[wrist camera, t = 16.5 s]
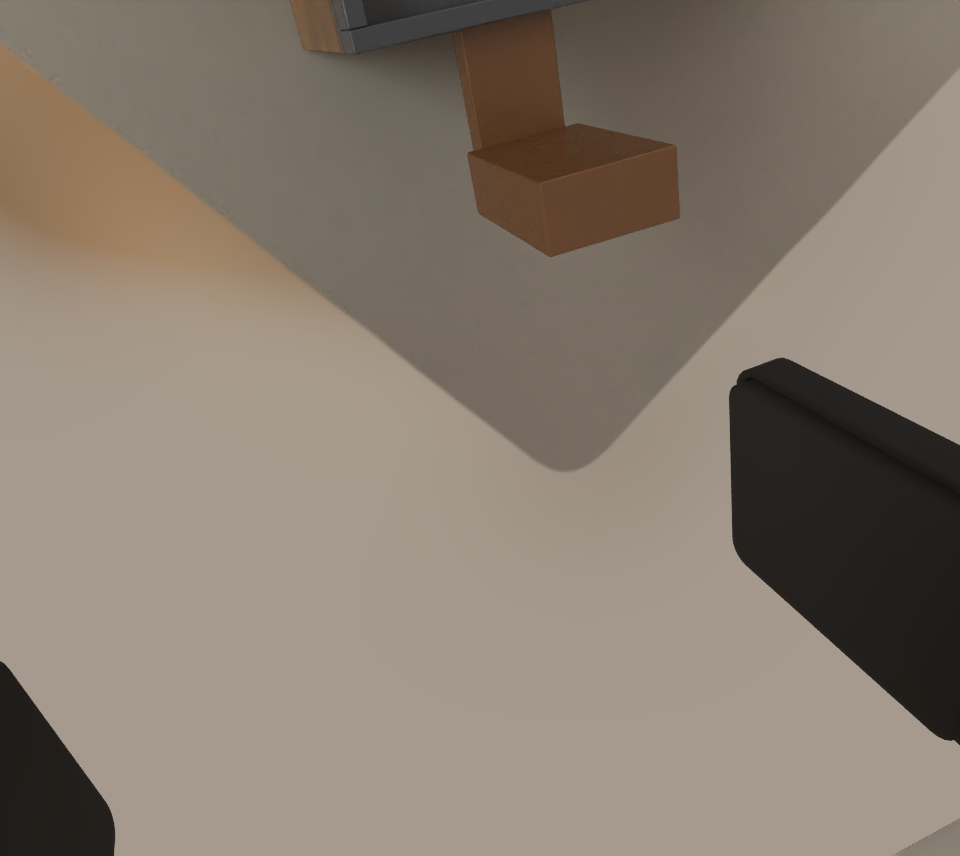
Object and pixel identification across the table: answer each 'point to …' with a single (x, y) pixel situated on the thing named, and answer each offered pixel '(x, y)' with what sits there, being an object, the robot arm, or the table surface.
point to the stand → (316, 25)
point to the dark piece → (527, 123)
